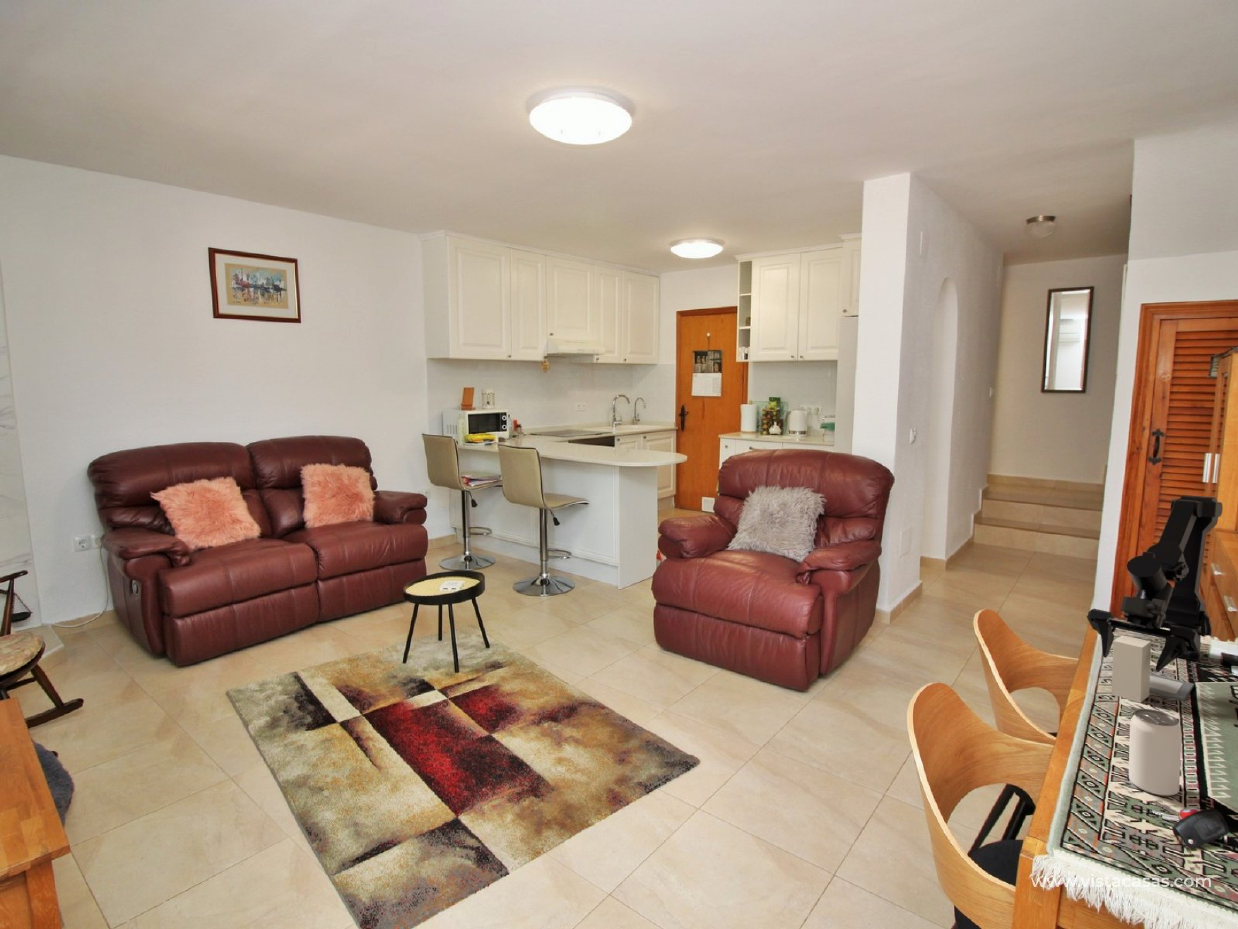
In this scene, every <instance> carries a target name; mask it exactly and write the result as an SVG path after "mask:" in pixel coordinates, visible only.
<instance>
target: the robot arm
mask: <svg viewBox="0 0 1238 929" xmlns="http://www.w3.org/2000/svg"><path fill="white" fill-rule="evenodd" d="M1222 513H1223V503H1222V502H1221V501H1218V500H1217V498H1216V497H1214V496H1203V495H1189V494H1188V495H1187V494H1186V495H1185V494H1183V495H1181V496H1180V498H1171V502H1170V513H1169V516H1168V518H1167V521H1166V523H1165V524H1164V528H1163V530H1162V532H1161V535H1160V538H1159V540H1158V542H1157V543H1155V544H1153V545H1151V546H1149V547H1148V548H1147V550H1146V551H1143V552H1142V554H1141V555H1137V556H1135V557H1133V558H1131V559H1130V560H1128V562H1127V563H1126V569H1127V571H1128V573H1129V575H1130V578H1131V580H1132V582H1133V584H1134V586H1135V587H1136V588H1137V591H1136V593H1135V596H1132V597H1131V596H1127V595H1126V596H1123V595H1122V599H1121V600H1122V601H1121V606H1120V611H1121V612H1123V614H1122V615H1123V617H1124V618H1125V619H1126V620H1123V619H1117V618H1115V617H1114V614H1113V613H1112V612H1111V611H1107V610H1104V609H1103V610H1102V609H1097V608H1092V609H1090V610H1088V612H1087V615H1086V619H1087V620H1088V622H1089V624H1090V626H1091V628H1092V630H1094V631H1096V632H1097V634H1098V635H1100V640H1101V650H1102V656H1103V658H1105V659H1106V658H1108V656H1109V653H1110V651H1111V648H1112V646H1113V641H1114V640H1115V639H1114V638H1115V635H1114V633H1115V631H1116V629H1120V630H1124V631H1128V632H1133V633H1137V634H1142V635H1146V636H1151V637H1154V638H1155V637H1156V638H1160V639H1165V640H1164V641H1165V642H1164V646H1163V647H1162V651H1161V652H1160V655H1159V657H1158V659H1157V661H1156V666H1155V671H1156V672H1160V671H1162V670H1163V669H1164V668H1165V667H1166V666H1168V665H1169V664H1170V663H1172V662H1173V661H1175V660H1176V659H1178V658H1181V659H1187V660H1192V661H1195V662H1200V660H1201V659H1202V658H1203V657H1204V655H1205V652H1204V651H1201V646H1202V642H1201V637H1207V636H1209V637H1211V636H1213V634H1212V633H1213V632H1212V631H1213V626H1212V621H1211V619H1210V616H1209V613H1208V612H1207V611H1206V609H1207V604H1206V603H1205V601H1204V600H1203V598H1202V596H1201V594H1200V587H1201V577H1202V571H1203V563H1204V556H1205V549H1206V541H1207V535H1208V533H1209V532H1210V531H1211V530H1213V528H1214V527H1216V526H1217V525H1218V522H1219V518H1220V517H1221V516H1222ZM1169 582H1174V585H1173V586H1174V587H1173V586H1172V584H1171V583H1169Z"/></svg>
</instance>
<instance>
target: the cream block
mask: <svg viewBox="0 0 1238 929" xmlns="http://www.w3.org/2000/svg"><path fill="white" fill-rule="evenodd" d="M1151 645H1152V642H1151V641H1149V640H1145V639H1140V638H1135V637H1131V636H1128V635H1127V636H1126V635H1123V634H1122V635H1120V636H1119V637H1117V638H1116V639H1113V642H1112V674H1111V679H1112V680H1111V681H1112V682H1111V695H1114V696H1117V697H1119V698H1122V699H1127V700H1130V701H1133V702H1137V703H1140V704H1141V703H1142V702H1144V700H1146V699H1147V698H1149V696H1150V693H1149V685H1150V674H1151V653H1152V652H1151V649H1152V646H1151Z"/></svg>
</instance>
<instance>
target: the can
mask: <svg viewBox="0 0 1238 929" xmlns="http://www.w3.org/2000/svg"><path fill="white" fill-rule="evenodd" d="M1129 722H1130V723H1129V746H1128V747H1129V750H1128V751H1129V752H1128V753H1129V754H1128V780H1129V781H1130V782H1131V783H1132V785H1134V787H1136V788H1138V789H1140V790H1141V791H1143V790H1144V792H1145V791H1146V793H1148V794H1152V795H1154V794H1155V795H1156V796H1159V797H1160V796H1161V797H1173V796H1175V795H1177V794H1178V793H1179V791H1180V778H1181V756H1182V754H1181V752H1182V730H1181V727H1180V726H1179V720H1178V719H1177V718H1176V717H1175V716H1173V715H1171V714H1169V713H1168V712H1167V713H1166V712H1163V711H1161V710H1156V709H1149V708H1139V709H1138V708H1137V709H1136V710H1134V711H1133V716H1132V717H1131V719H1130V721H1129Z"/></svg>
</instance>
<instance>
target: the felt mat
mask: <svg viewBox="0 0 1238 929" xmlns="http://www.w3.org/2000/svg"><path fill="white" fill-rule="evenodd" d="M1194 686H1195V684H1194V683H1192V682H1187V681H1185V680H1180V679H1175V678H1171V677H1167V676H1162V675H1158V674H1154V673H1150V685H1149V694H1153V695H1157V696H1161V697H1164V698H1165V697H1166V698H1168V699H1173V700H1177V701H1181V702H1184V701H1185V700H1186V698H1187V697H1188V696H1189V694H1190V692H1191V691H1192V689H1193V688H1194Z"/></svg>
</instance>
